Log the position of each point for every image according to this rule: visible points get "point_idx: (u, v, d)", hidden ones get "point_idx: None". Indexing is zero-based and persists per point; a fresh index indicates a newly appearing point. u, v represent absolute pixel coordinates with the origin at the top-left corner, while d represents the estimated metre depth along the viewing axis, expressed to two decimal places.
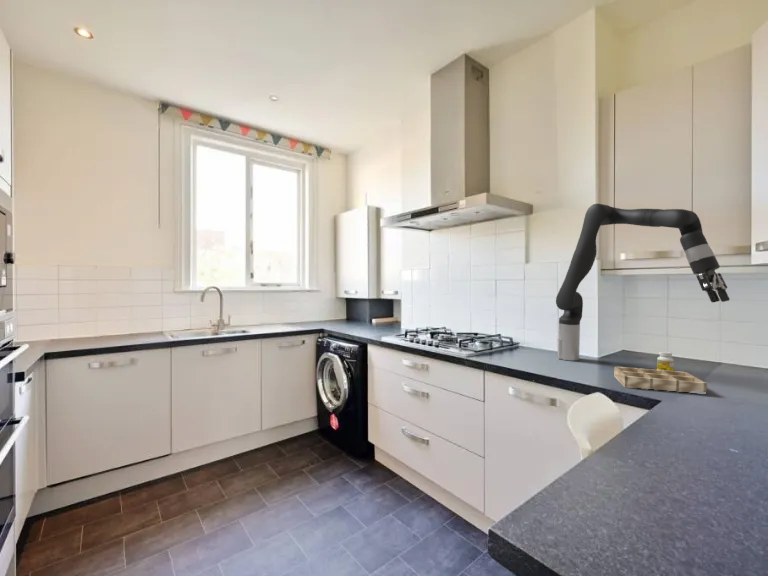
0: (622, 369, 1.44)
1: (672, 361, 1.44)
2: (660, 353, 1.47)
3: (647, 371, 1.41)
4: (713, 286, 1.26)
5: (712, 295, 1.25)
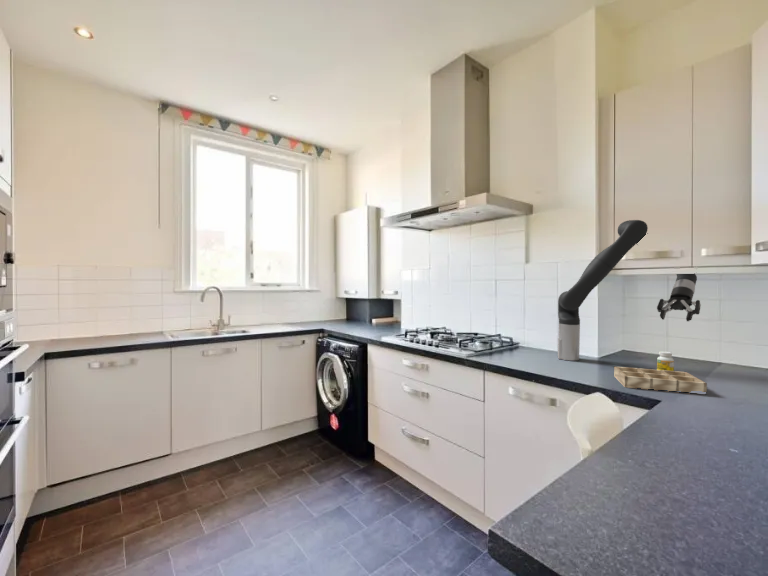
0: (622, 369, 1.44)
1: (672, 361, 1.44)
2: (660, 353, 1.47)
3: (647, 371, 1.41)
4: None
5: (691, 316, 1.50)
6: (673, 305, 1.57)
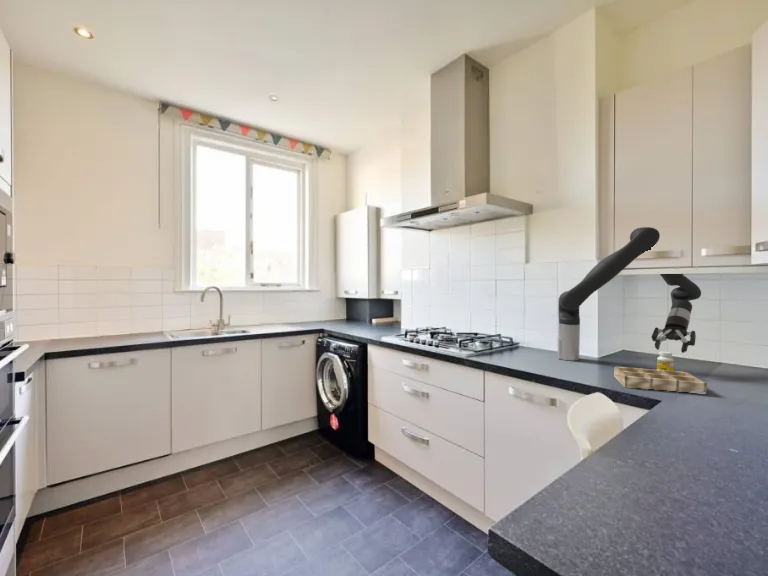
0: (622, 369, 1.44)
1: (672, 361, 1.44)
2: (660, 353, 1.47)
3: (647, 371, 1.41)
4: None
5: (687, 347, 1.47)
6: (668, 335, 1.54)
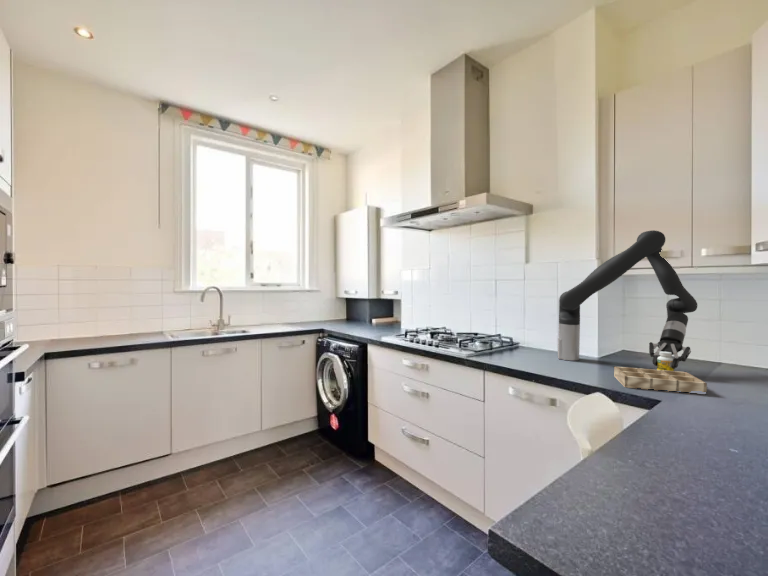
0: (622, 369, 1.44)
1: (672, 361, 1.44)
2: (660, 353, 1.47)
3: (647, 371, 1.41)
4: None
5: (677, 363, 1.44)
6: (664, 349, 1.49)
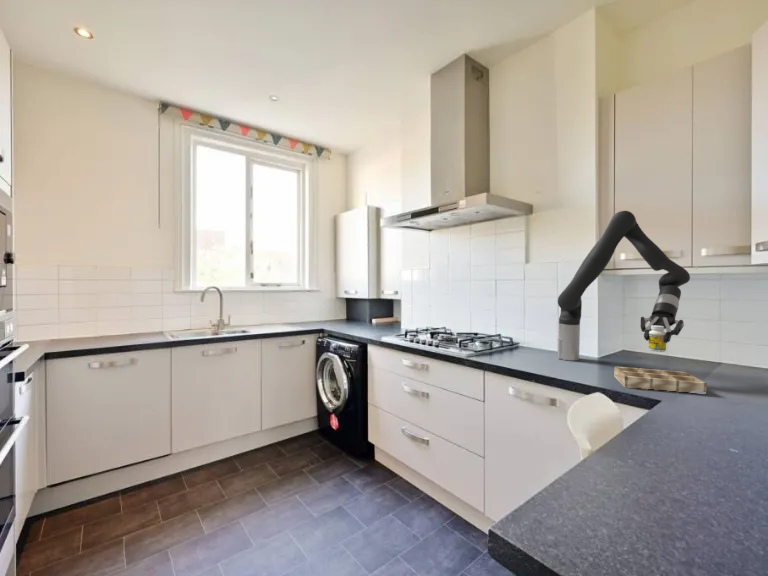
0: (622, 369, 1.44)
1: (664, 335, 1.37)
2: (652, 327, 1.40)
3: (647, 371, 1.41)
4: None
5: (670, 337, 1.36)
6: (656, 323, 1.42)
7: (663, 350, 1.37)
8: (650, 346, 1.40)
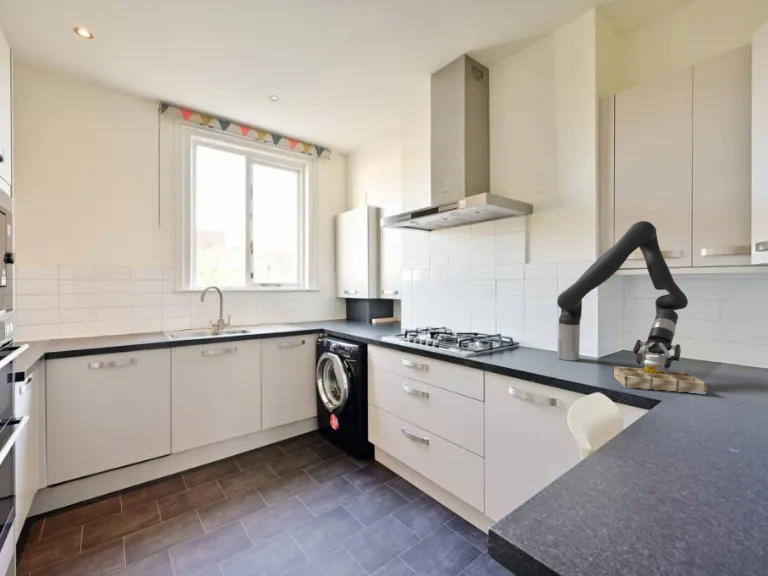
0: (622, 369, 1.44)
1: (659, 365, 1.35)
2: (647, 356, 1.38)
3: None
4: None
5: (670, 363, 1.33)
6: (651, 348, 1.40)
7: None
8: None
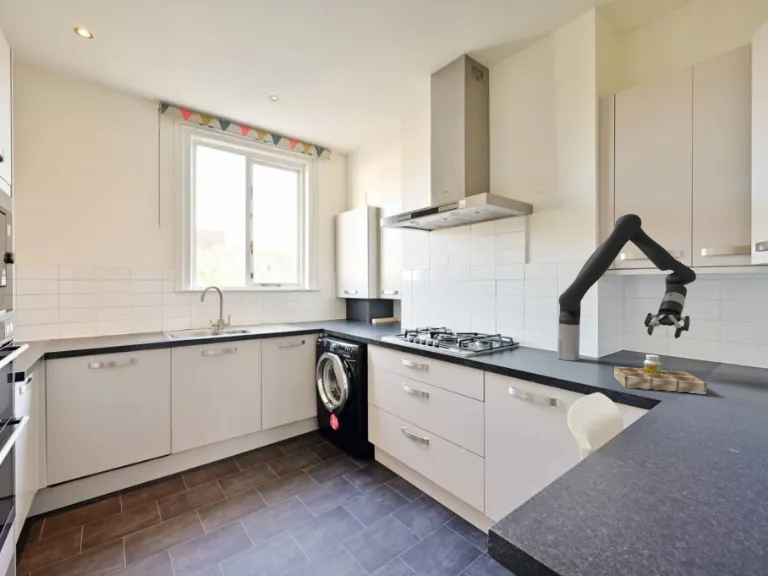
0: (622, 369, 1.44)
1: (659, 365, 1.35)
2: (647, 356, 1.38)
3: None
4: None
5: (680, 333, 1.41)
6: (661, 320, 1.48)
7: None
8: None
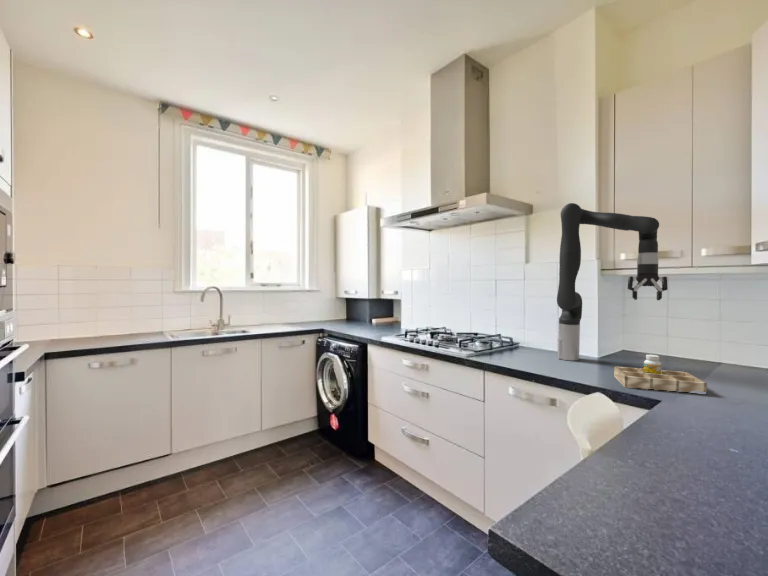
0: (622, 369, 1.44)
1: (659, 365, 1.35)
2: (647, 356, 1.38)
3: None
4: None
5: None
6: (643, 284, 1.60)
7: None
8: None
